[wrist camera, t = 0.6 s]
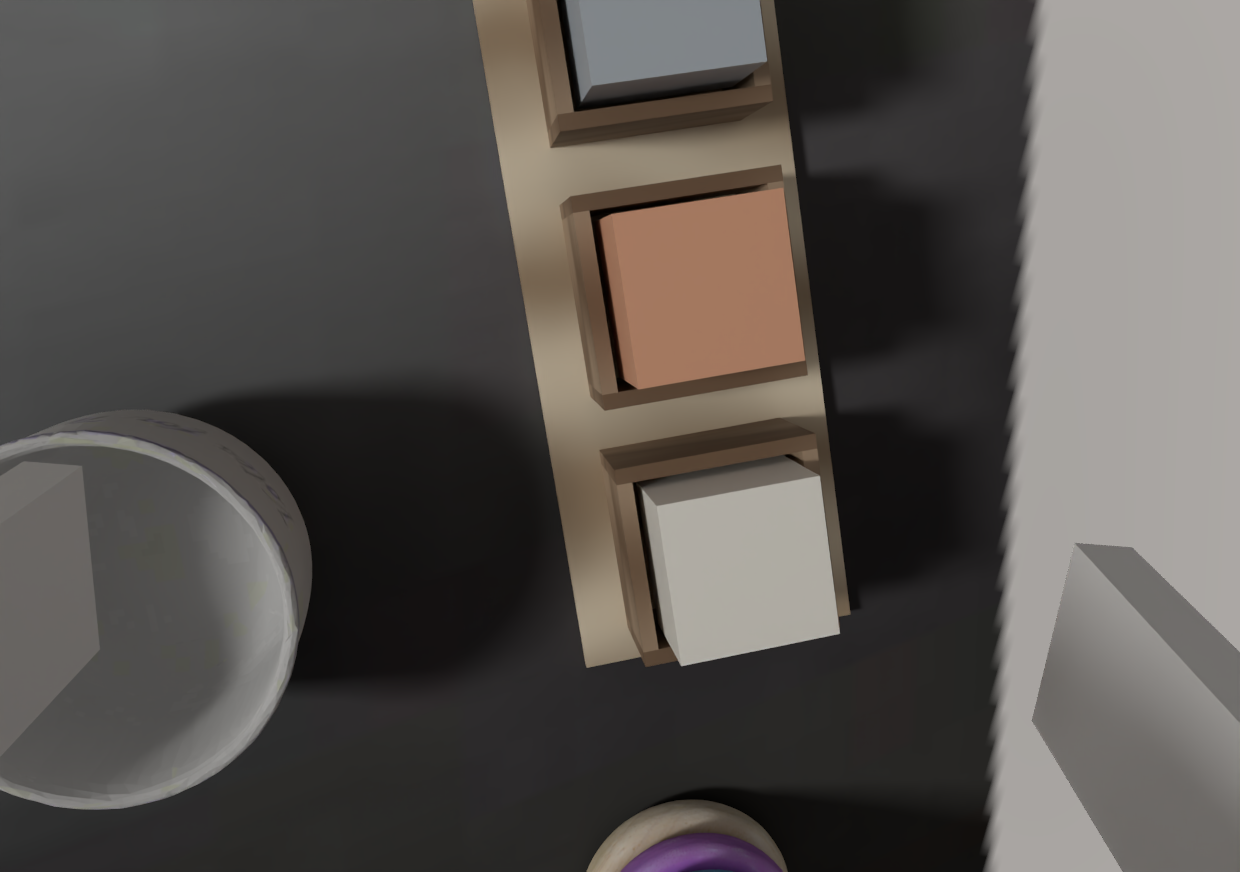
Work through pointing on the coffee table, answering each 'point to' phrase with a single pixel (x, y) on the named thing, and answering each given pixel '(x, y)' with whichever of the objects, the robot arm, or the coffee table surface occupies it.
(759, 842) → the stacking toy
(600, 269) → the button board
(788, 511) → the button cream
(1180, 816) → the robot arm
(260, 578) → the teacup
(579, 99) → the button slate
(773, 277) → the button terracotta
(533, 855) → the coffee table surface
